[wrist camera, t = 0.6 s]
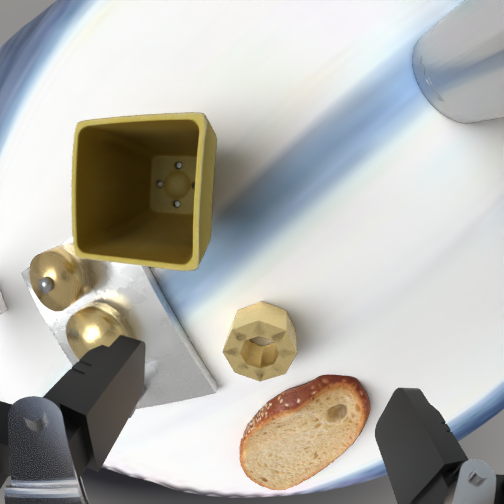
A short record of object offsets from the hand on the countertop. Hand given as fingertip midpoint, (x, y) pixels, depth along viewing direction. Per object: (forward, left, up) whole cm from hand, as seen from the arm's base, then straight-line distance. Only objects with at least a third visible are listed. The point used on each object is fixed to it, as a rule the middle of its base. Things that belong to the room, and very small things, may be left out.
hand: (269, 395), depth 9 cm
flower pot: (+5, -8, -18) cm, 20 cm away
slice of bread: (+6, +23, -18) cm, 30 cm away
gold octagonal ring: (+4, +7, -18) cm, 19 cm away
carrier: (+19, +1, -18) cm, 26 cm away
